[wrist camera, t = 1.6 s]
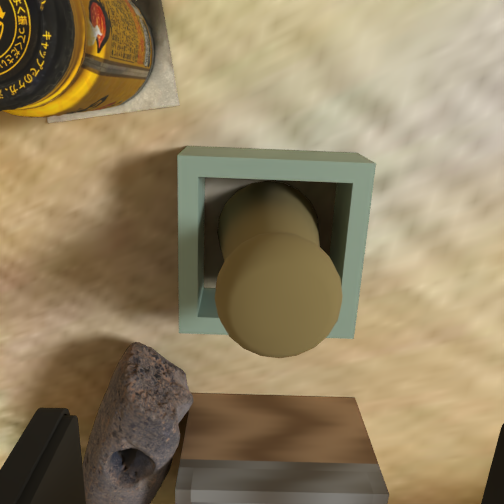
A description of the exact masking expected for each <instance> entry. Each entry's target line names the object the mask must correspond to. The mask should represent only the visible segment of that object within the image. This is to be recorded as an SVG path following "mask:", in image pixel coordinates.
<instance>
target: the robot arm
mask: <svg viewBox="0 0 504 504" xmlns="http://www.w3.org/2000/svg"><path fill="white" fill-rule="evenodd" d="M0 504H86V499H85V489H84V478H83V468H82V457H81V447H80V437H79V426H78V418H77V416H73V415H70V413H69V410H68V409H66V408H40V409H38V410H37V411H36V413H35V414H34V416H33V418H32V419H31V421H30V422H29V424H28V426H27V427H26V429H25V431H24V432H23V434H22V435H21V437H20V439H19V440H18V442H17V444H16V445H15V447H14V448H13V450H12V452H11V453H10V455H9V457H8V458H7V460H6V461H5V463H4V465H3V466H2V468H1V470H0ZM481 504H504V424H503V425H502V427H501V431H500V434H499V438H498V442H497V446H496V450H495V453H494V457H493V461H492V465H491V468H490V472H489V476H488V480H487V484H486V487H485V491H484V495H483V499H482V503H481Z"/></svg>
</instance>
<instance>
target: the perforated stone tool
mask: <svg viewBox="0 0 504 504" xmlns="http://www.w3.org/2000/svg"><path fill="white" fill-rule="evenodd" d="M192 403H193V395H192V394H191V392H190V391H189V388H188V386H187V380H186V374H185V373H184V371H183V370H182V369H180V368H178V367H177V366H175V365H174V364H172V363H171V362H169V361H168V360H166V359H165V358H164V357H162V356H161V355H160V354H158V353H157V352H156V351H155V350H154V349H152V348H151V347H147V346H146V345H143V344H141V343H140V342H135V343H132V344H131V345H130V346H129V347H128V348H127V350H126V351H125V353H124V355H123V356H122V358H121V360H120V362H119V363H118V365H117V367H116V369H115V371H114V373H113V376H112V378H111V381H110V384H109V387H108V389H107V391H106V393H105V396H104V398H103V401H102V403H101V405H100V408H99V411H98V414H97V417H96V420H95V423H94V426H93V429H92V432H91V435H90V438H89V442H88V445H87V449H86V453H85V457H84V461H83V466H82V468H83V478H84V489H85V499H86V504H150V503H151V501H152V500H153V498H154V497H155V495H156V493H157V491H158V490H159V488H160V486H161V484H162V482H163V481H164V479H165V477H166V475H167V473H168V471H169V469H170V466H171V463H172V457H173V455H174V453H175V451H176V449H177V447H178V445H179V439H180V431H179V427H178V424H179V422H180V421H181V419H182V418H183V417H184V415H185V414H186V413H187V411H188V410H189V409H190V407H191V405H192Z"/></svg>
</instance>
